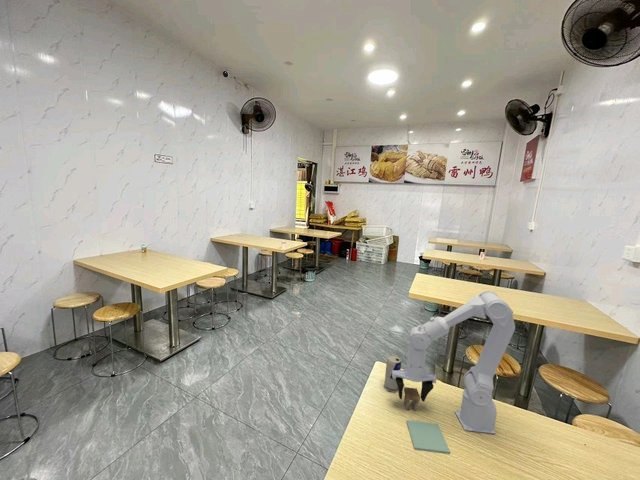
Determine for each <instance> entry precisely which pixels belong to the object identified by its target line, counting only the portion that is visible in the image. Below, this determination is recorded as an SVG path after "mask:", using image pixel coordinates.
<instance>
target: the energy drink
mask: <svg viewBox="0 0 640 480" xmlns="http://www.w3.org/2000/svg"><path fill="white" fill-rule="evenodd" d="M392 370H402V360H401V358H400V356H398V355H394V354H391V355H390V354H389V355H388V356H387V358H386V366H385V375H384V385H383V386H384V388H385V389H386V390H387V391H388V392H391V393H395V392H398V386H397V382H396V379H393V377H392Z"/></svg>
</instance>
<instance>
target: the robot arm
mask: <svg viewBox="0 0 640 480" xmlns="http://www.w3.org/2000/svg"><path fill="white" fill-rule="evenodd" d="M513 313H514V311H513V310H512V308H511V307H510V306H509V304H508V303H507V302H506V301H504V300H502V298H501V297H500V296H499V295H498V294H497V293H496V292H494V291H491V290H485V291H483V292H481V293H479V294H477V295H474V296H473V297H471V299H469V300H468V301H467V302H466V303H463V304H462V305H461V306H459V307H457V308H456V309H454V310H453V311H452V312H449V313H448V314H446V315H445V316H443V317H442V316H435V317H434V316H431V317H430V318H429V319H430V320H429V321H426V322H425V323H424V324H419V325H418V326H414V327H412V328H411V329H410V331H409V332H408V335H409V343H408V348H407V357H406V365H405V367H406V368H405V369H401V370H392V377H393V379H396V382H397V386H398V390H397V392H398V398H399V400H402V399H403V393H404V387H405V384H404V380H408V381H410V382H415V383H420V382H421V389H420V400H421V402H425V400H426V398H427V396H428V395H429V394H430V392H432V390H433V389H434V384H436V383H437V377H436V374H432V373H428V372H425V371H424V370H425V363H426V355H427V351H426V350H427V348H428V347H429V345H430V343H431V342H432V343H433V341H435V340H437V339H439V338H441V337H443V336H445V335H446V334H448V333H449V332H450V328H451V327H453V326H455V325H457V324H459V323H462V322H463V321H466V320H468V319H470V318H473V317H476V318H480V319H487V317H488V319H490V320H491V322H492V324H493V325H492V327H491V329H490V332H489V334H488V336H487V338H486V341H485V343H484V345H483V348H482V349H481V352H480V355H479V357H478V359H477V361H476V362H475V363H476V364H475V365H474V366H471V367H470V368H469V370H468V371H467V372H465V373H464V374H463V379H462V381H463V383H464V385H465V387H464V390H463V392H462V398H461V406H460V410H454V413H455V414H456V416H457V419H458V420H459V423H460V424H461V426H462V428H463V430H464V431H468V432H476V433H485V434H493V435H494V434H496V431H495V427H496V426H495V425H496V420H497V405H496V404H495V402H494V400H493V391H494V376H495V373H496V371H497V369H498V367H499V366H500V364H501V361H502V358H503V356H504V354H505V352H506V350H507V348H508V346H509V343H510V341H511V340H512V337H513V335H514V333H515V330H516V323H515V320H514V316H513ZM486 316H487V317H486Z"/></svg>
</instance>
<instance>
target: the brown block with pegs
mask: <svg viewBox="0 0 640 480" xmlns="http://www.w3.org/2000/svg"><path fill="white" fill-rule="evenodd" d="M403 393H404V399H403V404H404V405H405V410H406V411H409V409H410V403H411V405H413V410H414V411H415V412H417V411H418V406H419V405H418V404H419V402H420V401H421V394H419V393H420V392H419V391H418V389H417V387H415V388H414V387H406V386H404V388H403Z"/></svg>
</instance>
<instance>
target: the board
mask: <svg viewBox="0 0 640 480" xmlns="http://www.w3.org/2000/svg"><path fill="white" fill-rule="evenodd" d="M405 422H406V425H407V428H408V432H409V435H410V438H411V442H412V445H413V448H414V449H413V450H416V451H424V452H425V451H426V452H431V453H432V452H433V453H441V454H447V455H450V454H451V451H450V448H449V446H448V444H447V441H446V439H445V436H444V434H443V432H442V429H441V427H440V425H439V423H436V422H427V421H419V420H409V419H406V421H405Z"/></svg>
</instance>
